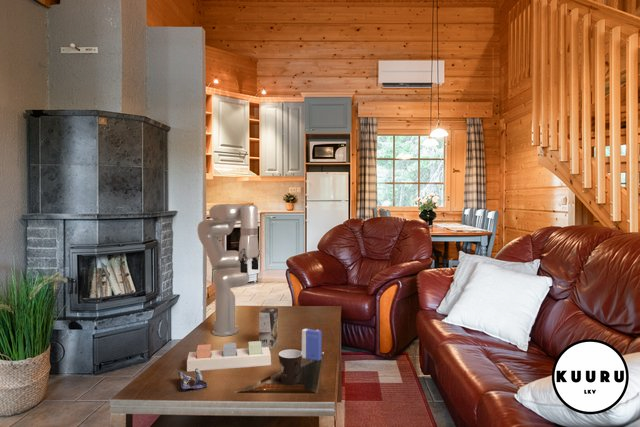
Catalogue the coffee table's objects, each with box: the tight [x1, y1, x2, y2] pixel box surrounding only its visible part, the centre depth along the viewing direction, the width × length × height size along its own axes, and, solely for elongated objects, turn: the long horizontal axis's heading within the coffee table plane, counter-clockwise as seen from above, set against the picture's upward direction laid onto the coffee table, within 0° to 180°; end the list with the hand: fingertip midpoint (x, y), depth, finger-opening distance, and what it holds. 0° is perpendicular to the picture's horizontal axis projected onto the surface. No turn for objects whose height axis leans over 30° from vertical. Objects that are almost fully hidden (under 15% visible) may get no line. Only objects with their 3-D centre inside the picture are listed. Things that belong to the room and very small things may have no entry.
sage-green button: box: [247, 340, 262, 355], centre depth 175 cm, size 5×5×5 cm
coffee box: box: [258, 307, 279, 350], centre depth 194 cm, size 9×6×16 cm
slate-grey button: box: [222, 342, 237, 357], centre depth 173 cm, size 5×5×5 cm
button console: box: [186, 347, 272, 372], centre depth 173 cm, size 32×10×4 cm, turn 102°
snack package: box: [177, 368, 208, 392], centre depth 153 cm, size 12×6×12 cm
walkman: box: [301, 328, 322, 361], centre depth 179 cm, size 8×3×12 cm, turn 66°
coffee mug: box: [278, 348, 303, 385], centre depth 155 cm, size 12×9×10 cm
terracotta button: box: [196, 343, 212, 359], centre depth 171 cm, size 5×5×5 cm
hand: (249, 271), depth 191 cm, fingers open, 9 cm apart
